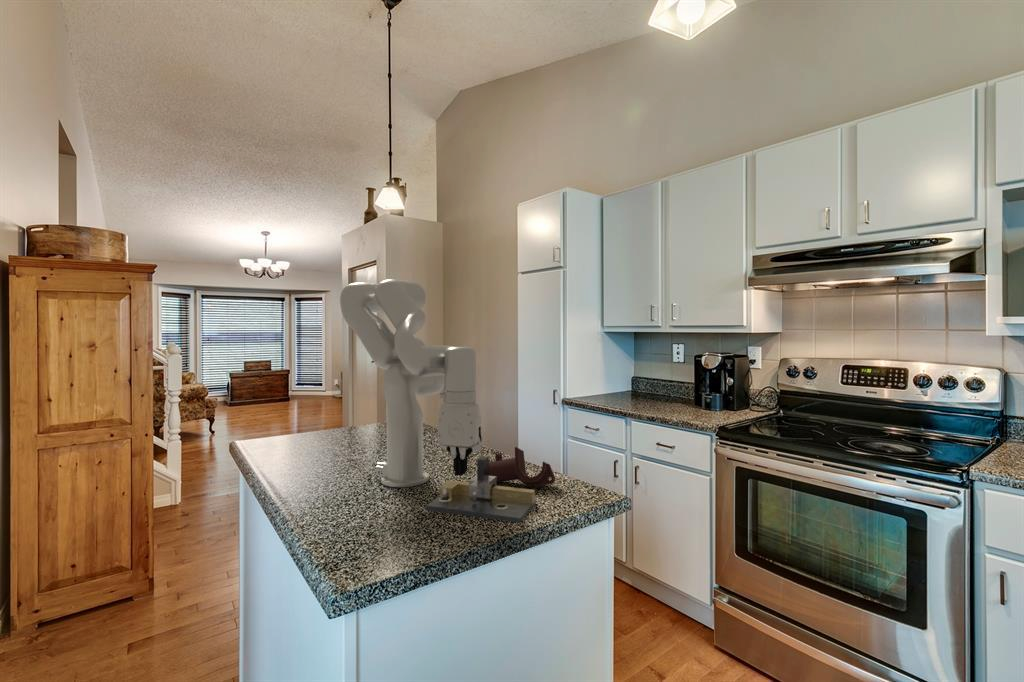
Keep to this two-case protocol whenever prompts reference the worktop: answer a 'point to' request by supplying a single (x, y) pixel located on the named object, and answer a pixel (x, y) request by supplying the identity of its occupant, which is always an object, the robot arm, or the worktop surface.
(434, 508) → the hole plate
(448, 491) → the beam
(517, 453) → the bracket
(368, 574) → the worktop surface
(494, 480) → the slider
